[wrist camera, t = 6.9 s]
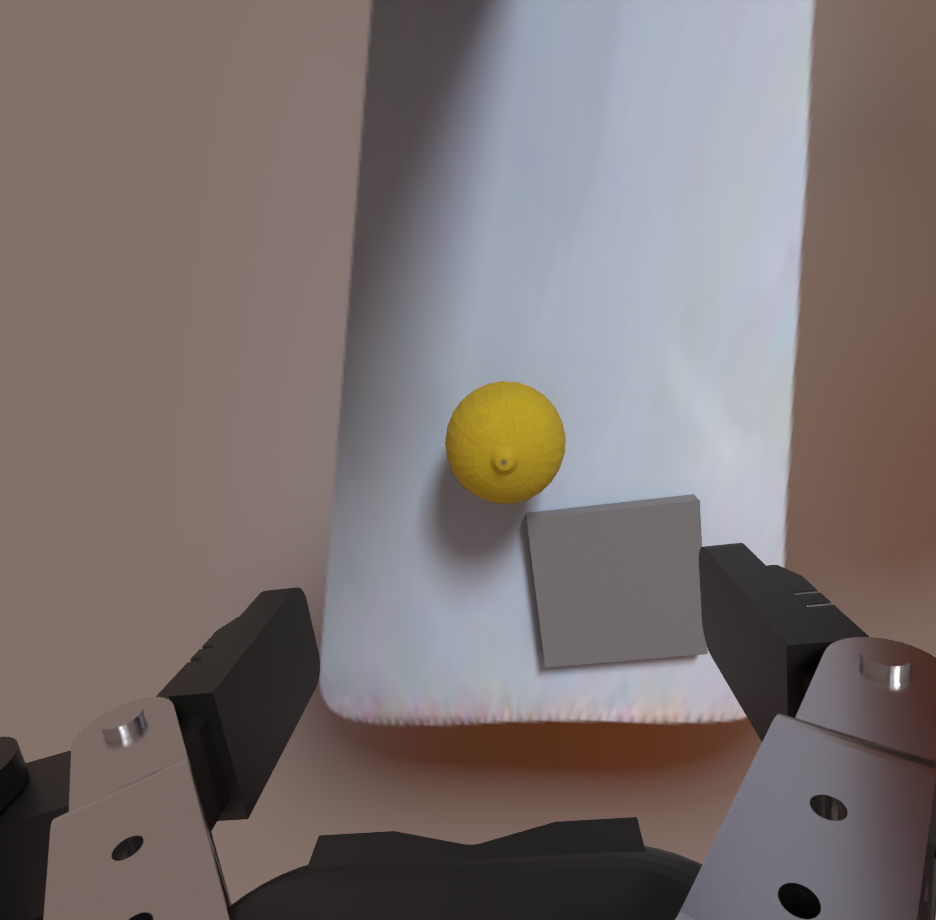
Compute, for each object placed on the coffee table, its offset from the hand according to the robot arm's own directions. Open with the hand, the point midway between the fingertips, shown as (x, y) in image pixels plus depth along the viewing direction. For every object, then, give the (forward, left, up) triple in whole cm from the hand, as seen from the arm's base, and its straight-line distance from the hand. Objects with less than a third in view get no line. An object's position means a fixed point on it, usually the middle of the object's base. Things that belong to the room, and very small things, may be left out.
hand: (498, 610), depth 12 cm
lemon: (0, 0, -20) cm, 20 cm away
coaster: (+9, +5, -20) cm, 23 cm away
